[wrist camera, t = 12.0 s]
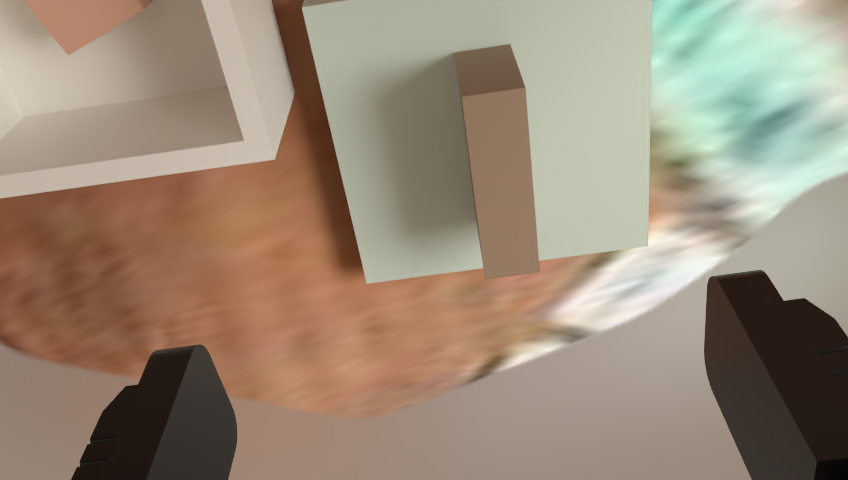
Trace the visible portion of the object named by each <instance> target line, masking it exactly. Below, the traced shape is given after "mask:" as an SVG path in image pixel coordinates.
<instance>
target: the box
mask: <svg viewBox="0 0 848 480" xmlns="http://www.w3.org/2000/svg"><path fill="white" fill-rule="evenodd" d="M294 94H295V90H294V86H293V82H292V78H291V74H290V70H289V66H288V62H287V58H286V55H285V51H284V47H283V43H282V39H281V35H280V31H279V27H278V23H277V19H276V15H275V11H274V7H273V3H272V0H153V1H152V2H151V3H150V4H149V5H148V6H147V7H146V8H145V9H144V10H143V11H141V12H140V13H138V14H136V15H135V16H133V17H131V18H130V19H128V20H126V21H125V22H123V23H121V24H120V25H118V26H117V27H115V28H113V29H112V30H110V31H108V32H107V33H105V34H103V35H102V36H100V37H98V38H97V39H95V40H93V41H92V42H90V43H88V44H87V45H85V46H84V47H82V48H80V49H79V50H77V51H75V52H74V53H72V54H70V55H69V56H68V54H67V53H66V52H65V51H64V50H63V48H62V47H61V46H60V45H59V44H58V42H57V41H56V40H55V39H54V38H53V36H52V35H51V34H50V33H49V32H48V30H47V29H46V28H45V27H44V26H43V24H42V23H41V22H40V21H39V19H38V18H37V17H36V16H35V15H34V13H33V12H32V11H31V10H30V9H29V7H28V6H27V5H26V4H25V3H24V1H23V0H0V198H7V197H14V196H21V195H28V194H35V193H42V192H49V191H56V190H63V189H70V188H77V187H84V186H91V185H98V184H105V183H112V182H120V181H127V180H134V179H141V178H148V177H155V176H162V175H169V174H176V173H183V172H190V171H197V170H204V169H211V168H218V167H225V166H232V165H239V164H246V163H254V162H261V161H268V160H275V157H276V154H277V151H278V147H279V144H280V141H281V137H282V134H283V131H284V127H285V124H286V121H287V117H288V114H289V111H290V108H291V104H292V101H293V98H294Z"/></svg>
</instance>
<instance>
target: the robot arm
mask: <svg viewBox="0 0 848 480" xmlns="http://www.w3.org/2000/svg"><path fill="white" fill-rule="evenodd" d="M704 357H705V365H706V371H707V376H708V380H709V383H710V386H711V389H712V391H713V394H714V396H715V398H716V401H717V403H718V405H719V407H720V409H721V412H722V414H723V416H724V418H725V420H726V423H727V425H728V427H729V430H730V432H731V434H732V436H733V439H734V441H735V443H736V445H737V447H738V450H739V452H740V454H741V456H742V459H743V461H744V463H745V465H746V467H747V470H748V472H749V474H750V477H751V479H752V480H848V337H847V336H846V334H845V333H844V331H843V330H842V328H841V327H840V326H839V324H838V323H837V321H836V320H835V319H834V318H833V317H831V316H830V315H828V314H827V313H825V312H824V311H822V310H821V309H819V308H818V307H816V306H815V305H814V304H812V303H810V302H809V301H808V300H806V299H805V298H803V299H795V300H788V301H783V299H782V297H781V296H780V294H779V293H778V291H777V290H776V288H775V287H774V285H773V283H772V282H771V280H770V279H769V277H768V276H767V275H766V273H765V272H764V271H762V270H756V271H749V272H741V273H734V274H727V275H719V276H712V277H710V278H709V281H708V285H707V302H706V324H705V344H704ZM90 441H91V442H90V444H88V445H87V447H86V449H85V451H84V453H83V455H82V458H81V460H80V467H77V468H76V471H75V473H74V475H73V477H72V479H71V480H228V478H229V473H230V469H231V466H232V462H233V458H234V453H235V450H236V444H237V424H236V418H235V413H234V410H233V408H232V405H231V403H230V400H229V398H228V396H227V394H226V391H225V389H224V387H223V384H222V382H221V380H220V377H219V375H218V373H217V370H216V368H215V366H214V363H213V361H212V359H211V357H210V354H209V352H208V351H207V349H206V348H205V347H204V346H203V345H193V346H185V347H178V348H171V349H163V350H157V351H155V352H153V353H152V355H151V356H150V358H149V360H148V363H147V365H146V367H145V370H144V372H143V374H142V377H141V379H140V382H139V384H138V385H132V386H126V387H125V388H124V389H123V390H122V391H121V392H120V393H119V394H118V395H117V396H116V398H115V399H114V400H113V401H112V402H111V403H110V404H109V405H108V406H107V408H106V409H105V410H104V411H103V412H102V414H101V416H100V418H99V420H98V423H97V425H96V427H95V429H94V432H93V434H92V436H91V438H90Z"/></svg>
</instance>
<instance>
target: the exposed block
mask: <svg viewBox="0 0 848 480" xmlns="http://www.w3.org/2000/svg"><path fill="white" fill-rule="evenodd" d="M23 1H24V3H25V4H26V5H27V6H28V7H29V9H30V10H31V11H32V12H33V13H34V15H35V16H36V17H37V18H38V19H39V21H40V22H41V23H42V24H43V26H44V27H45V28H46V29H47V30H48V32H49V33H50V34H51V35H52V36H53V38H54V39H55V40H56V41H57V42H58V44H59V45H60V46H61V47H62V48H63V50H64V51H65V52H66V53H67V54H68V56H69V55H70V54H72V53H74V52H75V51H77V50H79V49H80V48H82V47H84V46H85V45H87V44H88V43H90V42H92V41H93V40H95V39H97V38H98V37H100V36H102V35H103V34H105V33H107V32H108V31H110V30H112V29H113V28H115V27H117V26H118V25H120V24H121V23H123V22H125V21H126V20H128V19H130V18H131V17H133V16H135V15H136V14H138V13H140V12H141V11H143V10H144V9H145V8H146V7H147V6H148V5H149V4H150V3H151V2H152V1H153V0H23Z"/></svg>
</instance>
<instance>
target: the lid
mask: <svg viewBox="0 0 848 480" xmlns="http://www.w3.org/2000/svg"><path fill="white" fill-rule="evenodd" d="M302 11H303V15H304V20H305V24H306V28H307V32H308V37H309V41H310V45H311V49H312V54H313V58H314V62H315V66H316V70H317V75H318V79H319V83H320V87H321V92H322V96H323V100H324V104H325V109H326V113H327V117H328V121H329V126H330V130H331V134H332V138H333V143H334V147H335V151H336V155H337V160H338V164H339V168H340V172H341V177H342V181H343V185H344V189H345V194H346V198H347V202H348V206H349V211H350V215H351V219H352V223H353V227H354V232H355V236H356V240H357V244H358V249H359V253H360V257H361V261H362V266H363V270H364V274H365V278H366V283H367V284H368V283H376V282H383V281H390V280H398V279H405V278H413V277H420V276H428V275H435V274H443V273H450V272H458V271H465V270H473V269H480V268H484V275H485V279H492V278H499V277H507V276H514V275H522V274H529V273H537V272H540V267H539V261H540V260H548V259H555V258H563V257H570V256H578V255H585V254H593V253H600V252H608V251H615V250H623V249H630V248H637V247H645V246H648V209H649V155H650V100H651V46H652V0H304V2H303V5H302Z"/></svg>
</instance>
